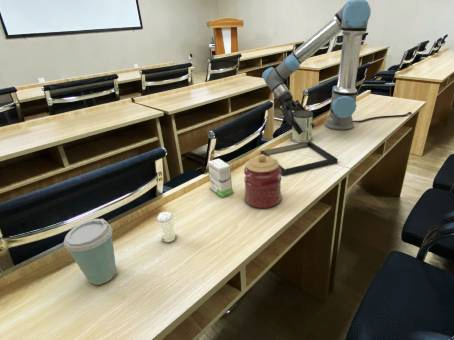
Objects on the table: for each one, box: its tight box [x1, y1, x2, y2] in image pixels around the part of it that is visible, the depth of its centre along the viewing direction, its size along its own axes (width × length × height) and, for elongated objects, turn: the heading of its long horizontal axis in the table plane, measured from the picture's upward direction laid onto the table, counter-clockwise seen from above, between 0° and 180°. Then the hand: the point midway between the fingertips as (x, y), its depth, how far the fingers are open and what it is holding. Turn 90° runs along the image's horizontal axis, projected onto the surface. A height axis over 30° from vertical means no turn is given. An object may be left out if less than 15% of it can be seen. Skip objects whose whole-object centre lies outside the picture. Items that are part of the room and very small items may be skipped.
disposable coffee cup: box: [63, 218, 117, 286], centre depth 77 cm, size 11×11×15 cm
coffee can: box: [291, 109, 314, 143], centre depth 159 cm, size 10×10×14 cm
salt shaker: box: [153, 211, 176, 243], centre depth 91 cm, size 4×5×10 cm
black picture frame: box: [259, 140, 339, 176], centre depth 141 cm, size 27×23×2 cm
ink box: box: [207, 158, 234, 198], centre depth 115 cm, size 9×5×12 cm, turn 38°
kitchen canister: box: [243, 154, 282, 209], centre depth 108 cm, size 13×13×18 cm
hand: (306, 130), depth 158 cm, fingers closed on coffee can, 10 cm apart
